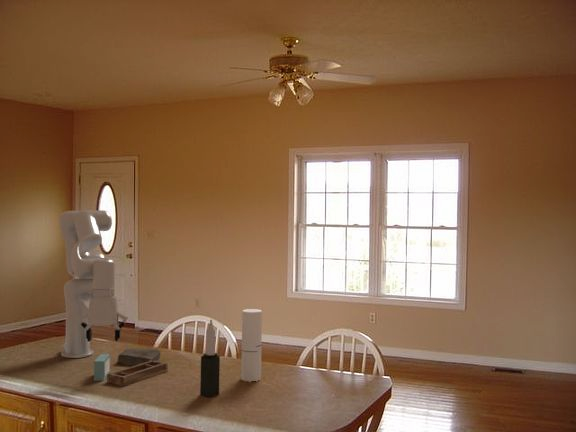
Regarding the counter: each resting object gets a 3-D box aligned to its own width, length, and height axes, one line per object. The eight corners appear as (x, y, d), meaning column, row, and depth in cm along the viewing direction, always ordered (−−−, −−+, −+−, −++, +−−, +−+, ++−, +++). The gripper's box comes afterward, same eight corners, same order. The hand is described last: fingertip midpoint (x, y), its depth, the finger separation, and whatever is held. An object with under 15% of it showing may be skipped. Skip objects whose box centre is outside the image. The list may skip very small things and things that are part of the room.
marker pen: (210, 398, 185) (212, 321, 185) (198, 395, 188) (200, 319, 187) (220, 393, 189) (221, 319, 189) (208, 391, 192) (210, 317, 192)
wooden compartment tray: (107, 382, 199) (107, 373, 199) (150, 367, 218) (151, 360, 218) (124, 386, 195) (124, 377, 195) (167, 371, 214) (167, 363, 214)
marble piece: (151, 368, 219) (151, 358, 219) (113, 367, 219) (113, 356, 219) (162, 357, 235) (162, 347, 235) (127, 356, 236) (128, 346, 236)
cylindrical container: (264, 379, 207) (266, 310, 207) (250, 383, 202) (251, 313, 201) (251, 375, 212) (252, 308, 211) (237, 378, 206) (238, 310, 206)
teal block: (93, 380, 201) (94, 361, 201) (100, 372, 211) (100, 354, 211) (104, 380, 201) (104, 361, 201) (110, 372, 211) (110, 354, 211)
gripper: (76, 294, 201) (75, 343, 201) (126, 294, 203) (125, 342, 203) (81, 292, 209) (81, 338, 208) (129, 292, 210) (129, 338, 210)
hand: (103, 340), depth 206 cm, fingers open, 9 cm apart
